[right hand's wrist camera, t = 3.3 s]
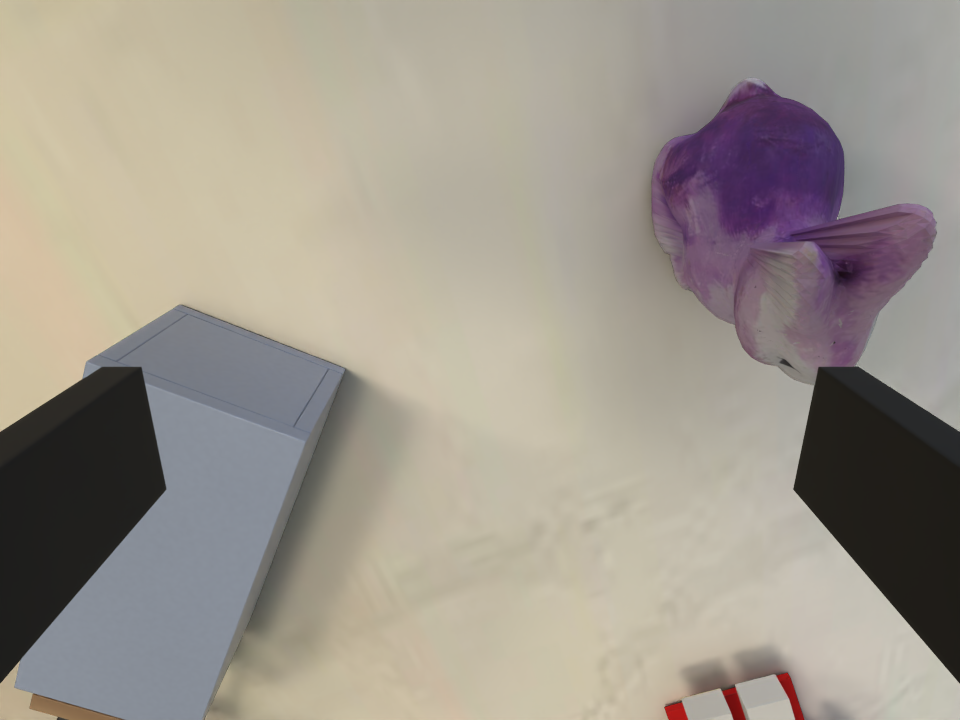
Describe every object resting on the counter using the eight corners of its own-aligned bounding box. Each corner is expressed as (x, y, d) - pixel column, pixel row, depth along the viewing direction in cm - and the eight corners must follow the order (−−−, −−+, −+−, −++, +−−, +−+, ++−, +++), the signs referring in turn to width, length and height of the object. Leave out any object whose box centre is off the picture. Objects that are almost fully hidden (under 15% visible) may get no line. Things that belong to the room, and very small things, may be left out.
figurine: (717, 334, 36) (870, 471, 22) (596, 208, 33) (681, 271, 19) (857, 212, 33) (1130, 279, 19) (737, 66, 31) (953, 21, 17)
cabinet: (249, 620, 43) (194, 740, 35) (106, 574, 42) (13, 688, 34) (345, 368, 37) (306, 442, 28) (179, 303, 35) (85, 361, 27)
